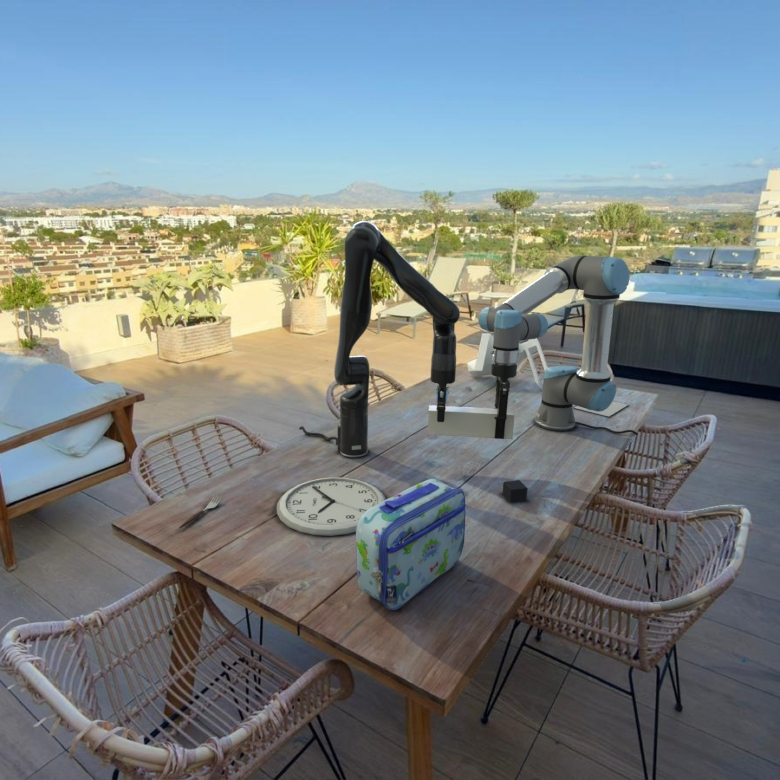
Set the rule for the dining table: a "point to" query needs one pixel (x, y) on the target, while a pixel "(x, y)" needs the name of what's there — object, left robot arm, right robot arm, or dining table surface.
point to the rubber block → (514, 491)
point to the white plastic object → (484, 357)
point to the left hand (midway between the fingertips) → (441, 417)
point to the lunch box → (409, 541)
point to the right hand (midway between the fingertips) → (498, 434)
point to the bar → (468, 422)
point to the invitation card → (609, 411)
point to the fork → (209, 506)
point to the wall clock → (327, 505)
